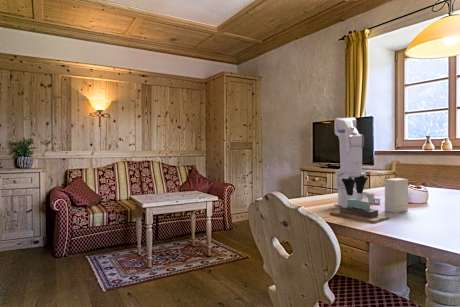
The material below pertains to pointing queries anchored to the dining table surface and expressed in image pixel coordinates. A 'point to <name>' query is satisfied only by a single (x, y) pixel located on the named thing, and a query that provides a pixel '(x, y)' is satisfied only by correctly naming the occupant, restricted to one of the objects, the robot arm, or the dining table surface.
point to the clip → (358, 204)
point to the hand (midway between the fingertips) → (354, 194)
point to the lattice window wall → (370, 197)
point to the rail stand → (359, 214)
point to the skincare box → (396, 195)
